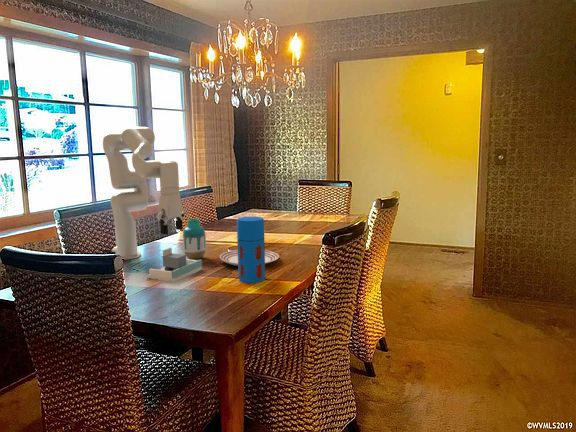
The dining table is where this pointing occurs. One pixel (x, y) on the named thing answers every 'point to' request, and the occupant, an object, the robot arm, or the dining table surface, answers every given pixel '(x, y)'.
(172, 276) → the loading dock
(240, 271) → the thermos
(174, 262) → the lidded gray box
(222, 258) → the dinner plate
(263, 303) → the dining table surface
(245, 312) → the dining table surface
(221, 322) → the dining table surface
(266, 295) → the dining table surface
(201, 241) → the vase
